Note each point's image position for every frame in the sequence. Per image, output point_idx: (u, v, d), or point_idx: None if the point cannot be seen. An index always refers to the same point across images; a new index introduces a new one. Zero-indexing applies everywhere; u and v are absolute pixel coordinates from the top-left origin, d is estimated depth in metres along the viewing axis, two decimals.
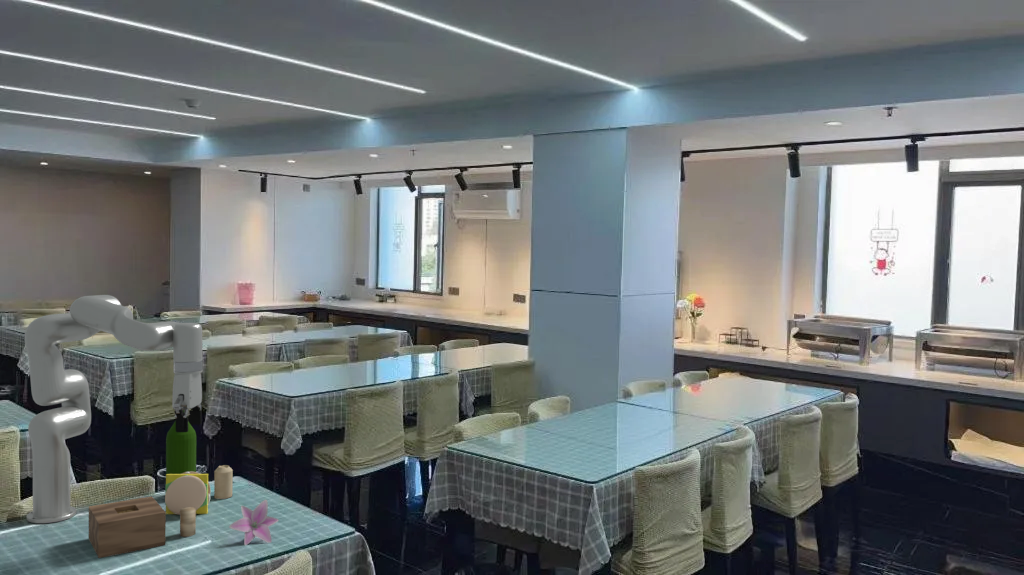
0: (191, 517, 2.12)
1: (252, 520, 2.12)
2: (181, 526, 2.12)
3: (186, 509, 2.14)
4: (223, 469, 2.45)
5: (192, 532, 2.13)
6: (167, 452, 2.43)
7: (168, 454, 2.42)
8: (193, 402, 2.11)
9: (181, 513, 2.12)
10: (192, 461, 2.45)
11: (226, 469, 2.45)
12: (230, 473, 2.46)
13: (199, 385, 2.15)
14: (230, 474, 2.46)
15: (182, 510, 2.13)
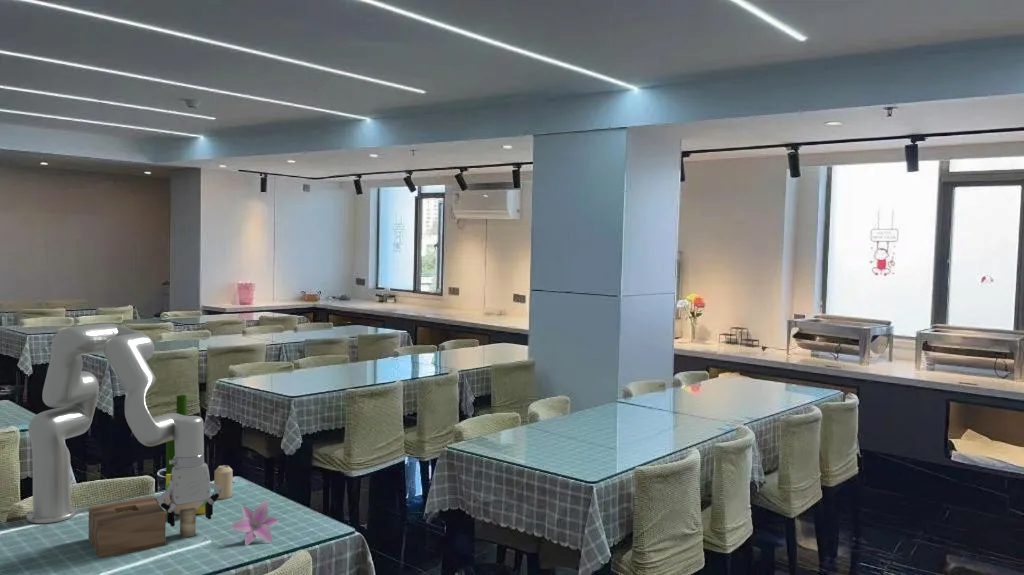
0: (191, 517, 2.12)
1: (252, 520, 2.12)
2: (181, 526, 2.12)
3: (186, 509, 2.14)
4: (223, 469, 2.45)
5: (192, 532, 2.13)
6: (167, 452, 2.43)
7: (168, 454, 2.42)
8: None
9: (181, 513, 2.12)
10: None
11: (226, 469, 2.45)
12: (230, 473, 2.46)
13: None
14: (230, 474, 2.46)
15: (182, 510, 2.13)
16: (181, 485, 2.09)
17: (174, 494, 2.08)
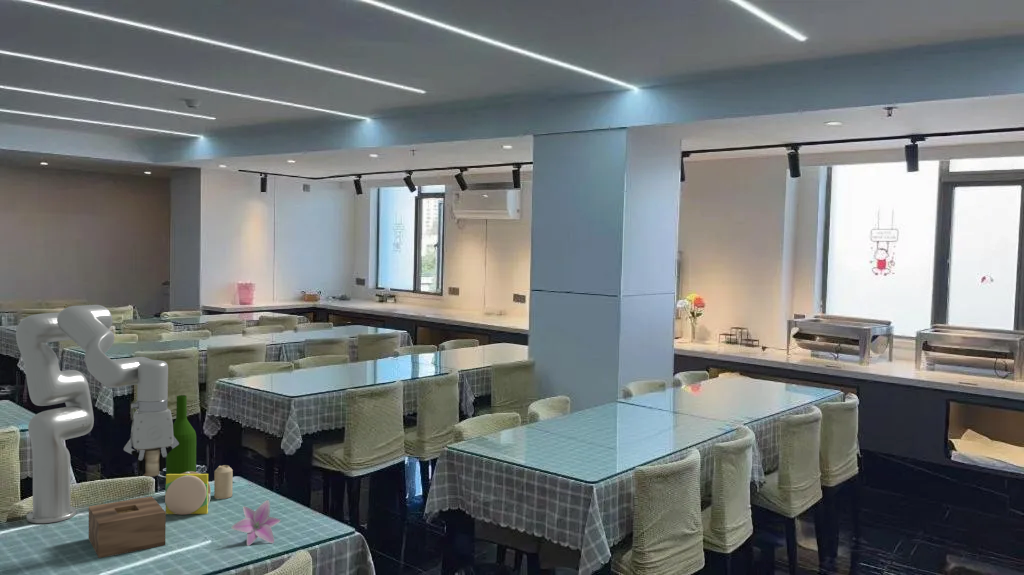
0: (155, 457, 2.08)
1: (254, 520, 2.12)
2: None
3: (150, 449, 2.09)
4: (223, 469, 2.45)
5: (156, 472, 2.08)
6: None
7: (168, 454, 2.42)
8: None
9: (145, 452, 2.07)
10: (192, 461, 2.45)
11: (226, 469, 2.45)
12: (230, 473, 2.46)
13: None
14: (230, 474, 2.46)
15: (146, 449, 2.08)
16: (143, 430, 2.05)
17: (135, 438, 2.04)
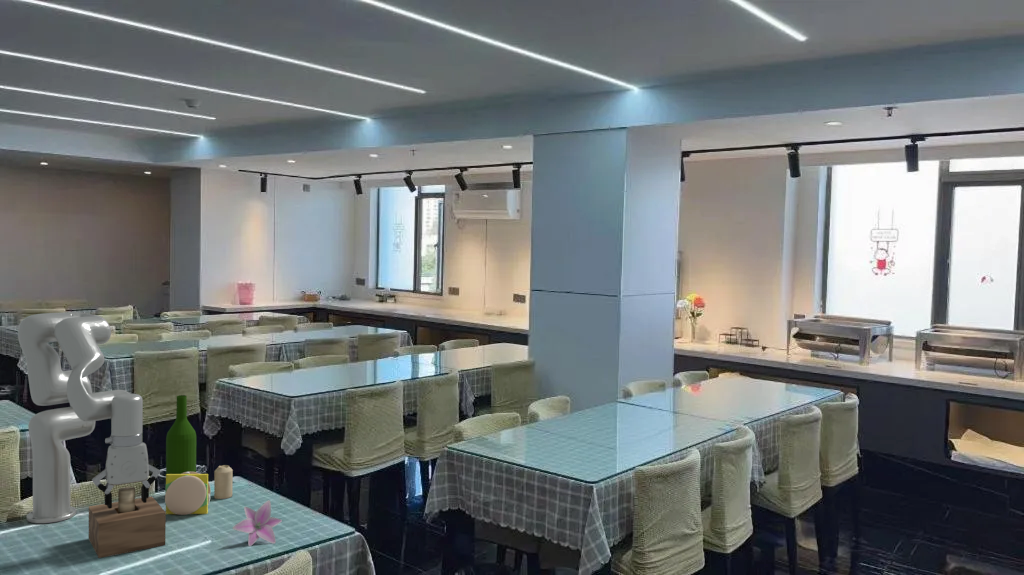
0: (129, 497, 2.05)
1: (255, 521, 2.11)
2: (119, 506, 2.05)
3: (125, 489, 2.07)
4: (223, 469, 2.45)
5: None
6: (167, 452, 2.43)
7: (168, 454, 2.42)
8: None
9: (119, 493, 2.05)
10: (192, 461, 2.45)
11: (226, 469, 2.45)
12: (230, 473, 2.46)
13: None
14: (230, 474, 2.46)
15: (120, 490, 2.06)
16: (117, 465, 2.02)
17: (109, 474, 2.02)
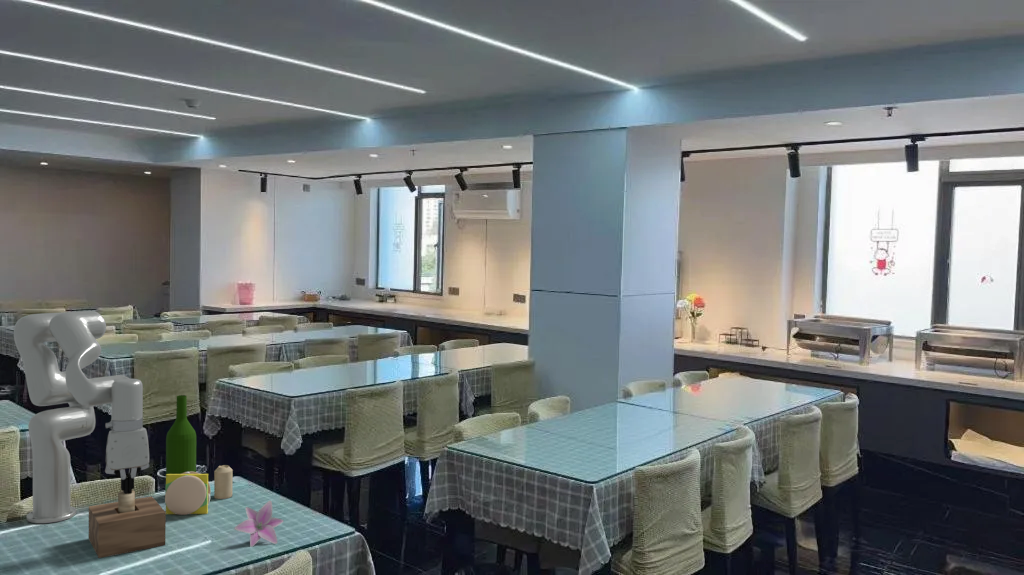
0: (129, 500, 2.05)
1: (256, 521, 2.11)
2: (119, 509, 2.05)
3: None
4: (223, 469, 2.45)
5: None
6: (167, 452, 2.43)
7: (168, 454, 2.42)
8: None
9: (119, 496, 2.05)
10: (192, 461, 2.45)
11: (226, 469, 2.45)
12: (230, 473, 2.46)
13: None
14: (230, 474, 2.46)
15: (120, 493, 2.06)
16: (117, 449, 2.02)
17: (109, 458, 2.01)
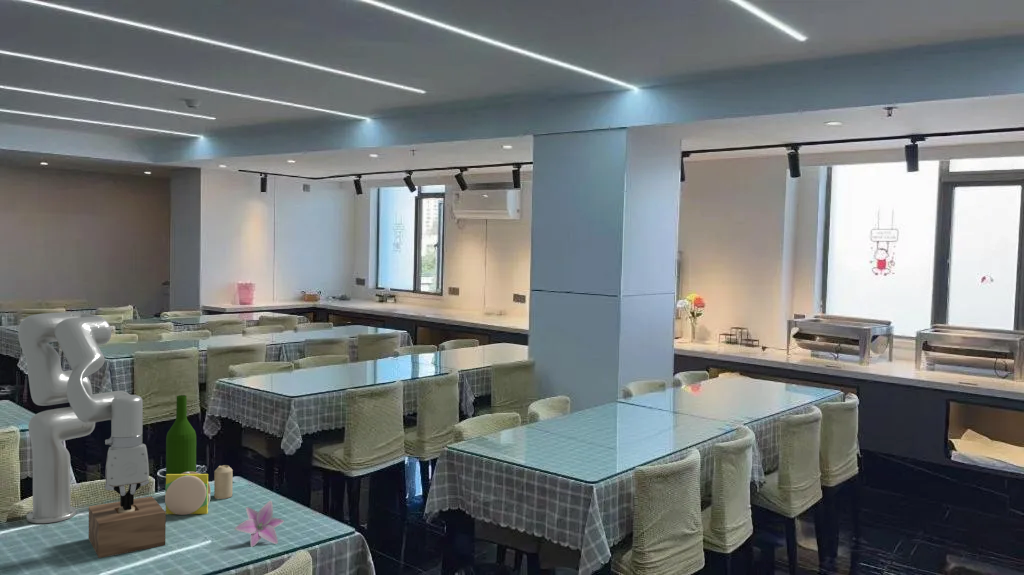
0: None
1: (257, 521, 2.11)
2: None
3: None
4: (223, 469, 2.45)
5: None
6: (167, 452, 2.43)
7: (168, 454, 2.42)
8: None
9: (119, 512, 2.05)
10: (192, 461, 2.45)
11: (226, 469, 2.45)
12: (230, 473, 2.46)
13: None
14: (230, 474, 2.46)
15: (120, 509, 2.06)
16: (117, 466, 2.02)
17: (109, 475, 2.02)
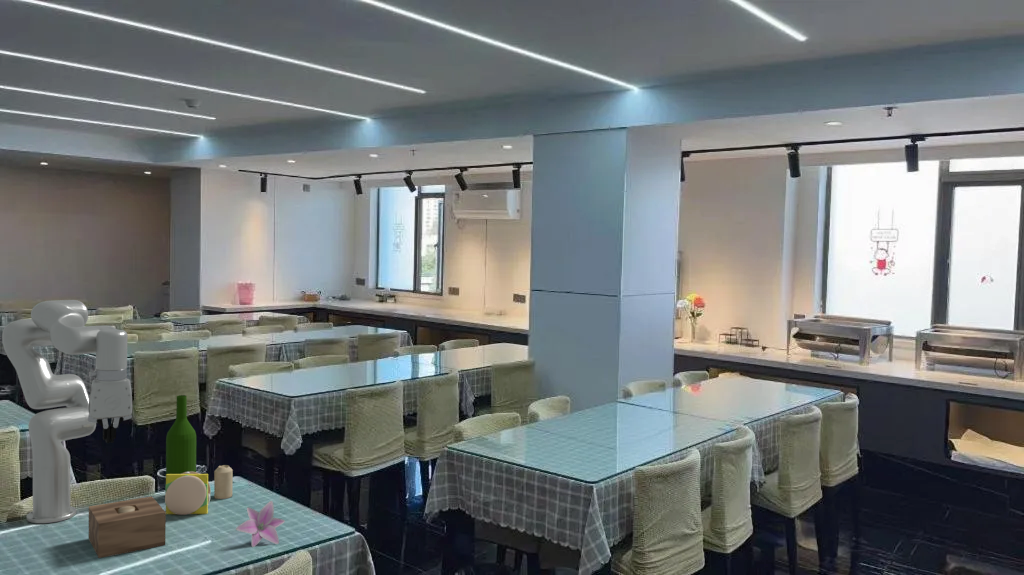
0: None
1: (258, 521, 2.11)
2: None
3: (125, 508, 2.07)
4: (223, 469, 2.45)
5: None
6: (167, 452, 2.43)
7: (168, 454, 2.42)
8: None
9: (119, 512, 2.05)
10: (192, 461, 2.45)
11: (226, 469, 2.45)
12: (230, 473, 2.46)
13: None
14: (230, 474, 2.46)
15: (120, 509, 2.06)
16: (100, 398, 2.03)
17: (92, 407, 2.02)
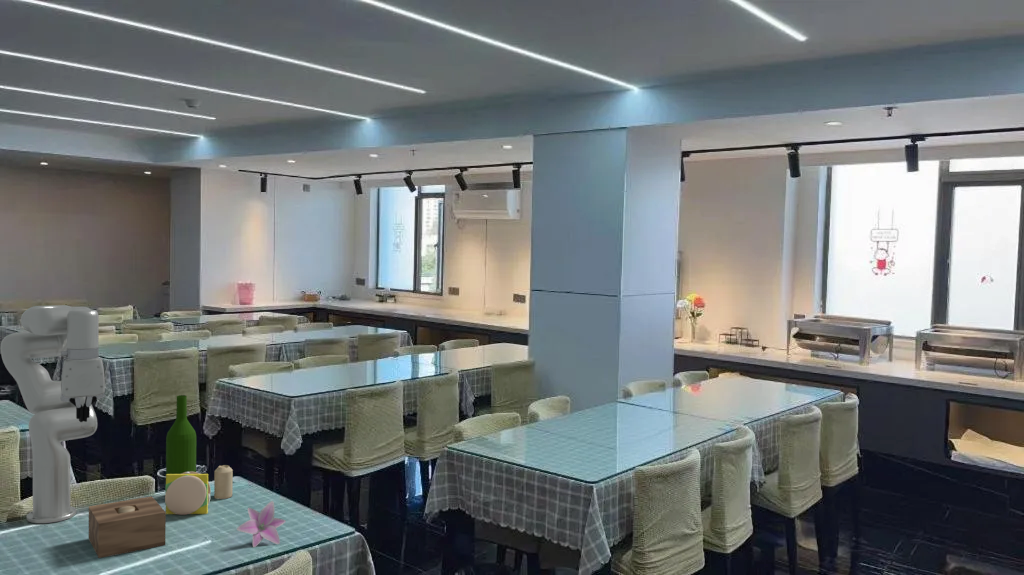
0: None
1: (259, 522, 2.11)
2: None
3: (125, 508, 2.07)
4: (223, 469, 2.45)
5: None
6: (167, 452, 2.43)
7: (168, 454, 2.42)
8: None
9: (119, 512, 2.05)
10: (192, 461, 2.45)
11: (226, 469, 2.45)
12: (230, 473, 2.46)
13: None
14: (230, 474, 2.46)
15: (120, 509, 2.06)
16: (72, 377, 2.05)
17: (64, 386, 2.04)
